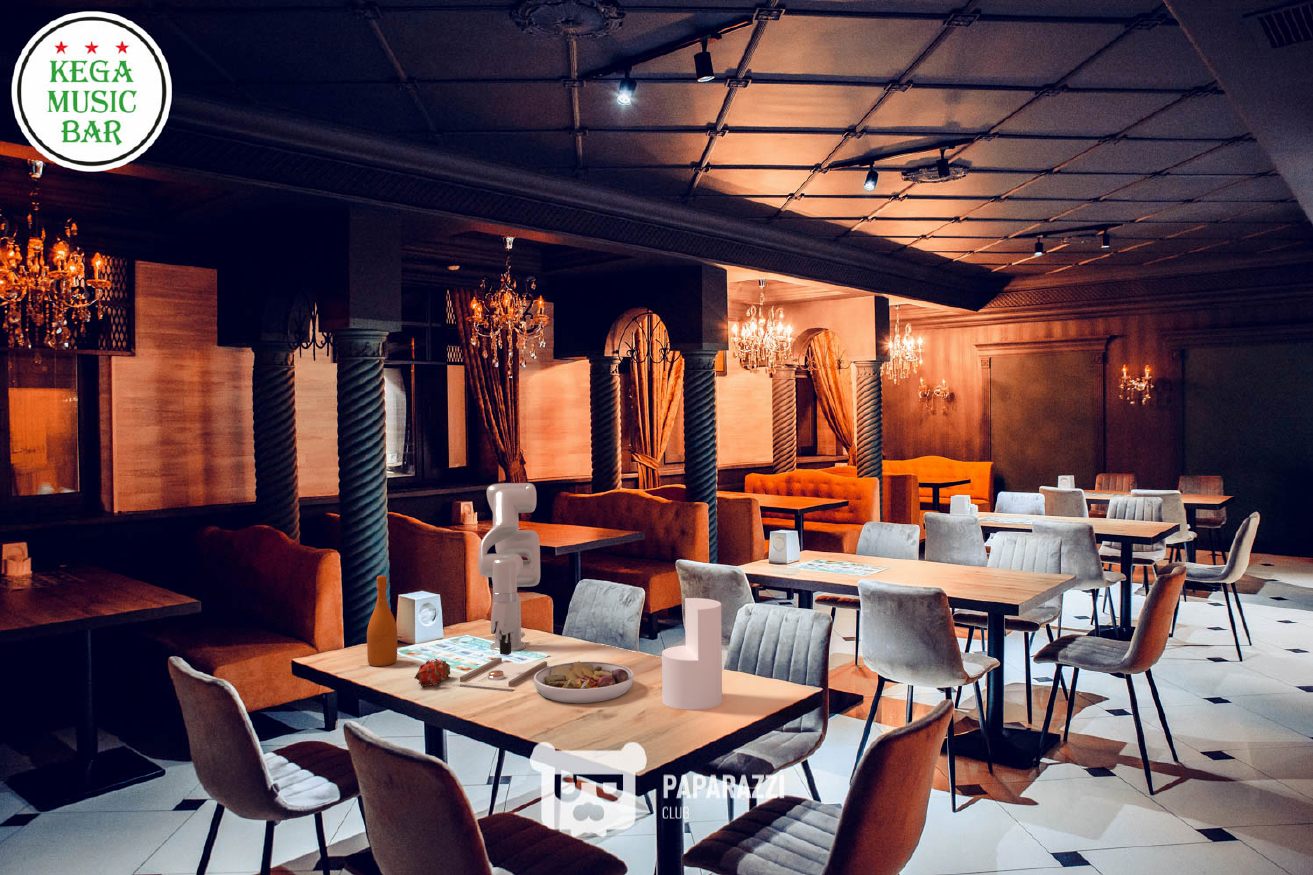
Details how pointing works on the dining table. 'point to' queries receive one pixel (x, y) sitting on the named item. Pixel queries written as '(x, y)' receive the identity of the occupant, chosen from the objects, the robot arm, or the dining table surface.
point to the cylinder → (695, 660)
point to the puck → (496, 675)
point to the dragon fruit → (433, 673)
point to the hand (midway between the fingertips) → (505, 653)
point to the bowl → (583, 681)
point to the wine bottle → (382, 630)
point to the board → (509, 669)
